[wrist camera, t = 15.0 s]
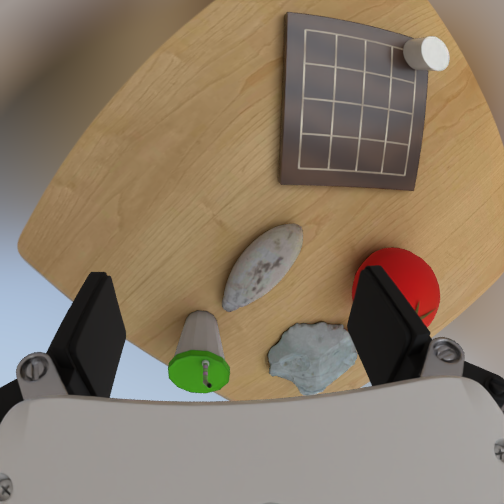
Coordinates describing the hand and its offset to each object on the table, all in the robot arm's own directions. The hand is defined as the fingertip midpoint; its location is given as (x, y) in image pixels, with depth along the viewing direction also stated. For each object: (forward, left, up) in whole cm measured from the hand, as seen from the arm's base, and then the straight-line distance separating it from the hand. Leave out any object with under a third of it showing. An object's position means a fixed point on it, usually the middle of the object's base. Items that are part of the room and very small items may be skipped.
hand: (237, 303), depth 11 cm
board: (-7, +15, -26) cm, 31 cm away
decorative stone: (+14, +4, -26) cm, 30 cm away
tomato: (+16, +22, -26) cm, 38 cm away
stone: (+32, +14, -26) cm, 44 cm away
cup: (+24, -4, -26) cm, 36 cm away
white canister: (-15, +22, -25) cm, 36 cm away
